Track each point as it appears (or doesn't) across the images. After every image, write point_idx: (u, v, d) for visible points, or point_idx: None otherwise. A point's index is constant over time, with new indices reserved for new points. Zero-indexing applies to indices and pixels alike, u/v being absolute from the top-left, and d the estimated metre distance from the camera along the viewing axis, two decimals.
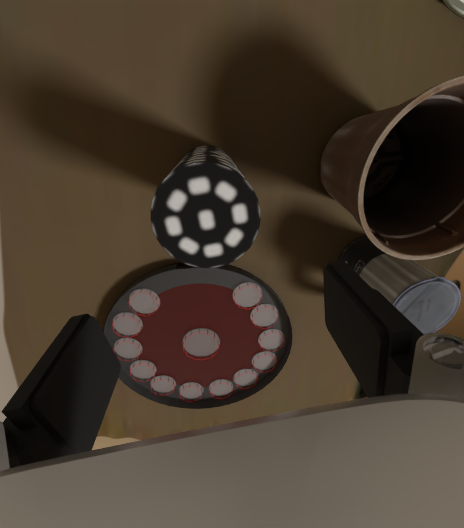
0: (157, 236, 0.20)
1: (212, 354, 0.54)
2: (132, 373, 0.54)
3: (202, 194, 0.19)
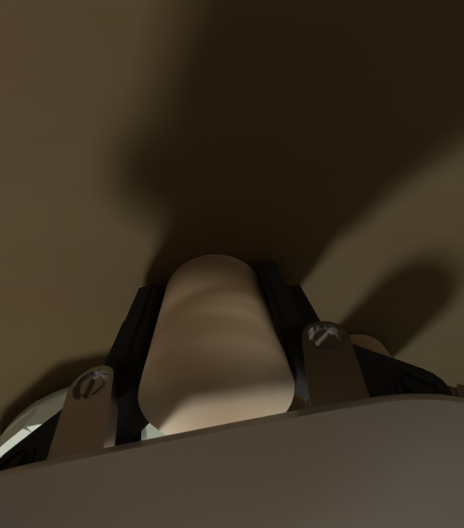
0: None
1: None
2: None
3: None
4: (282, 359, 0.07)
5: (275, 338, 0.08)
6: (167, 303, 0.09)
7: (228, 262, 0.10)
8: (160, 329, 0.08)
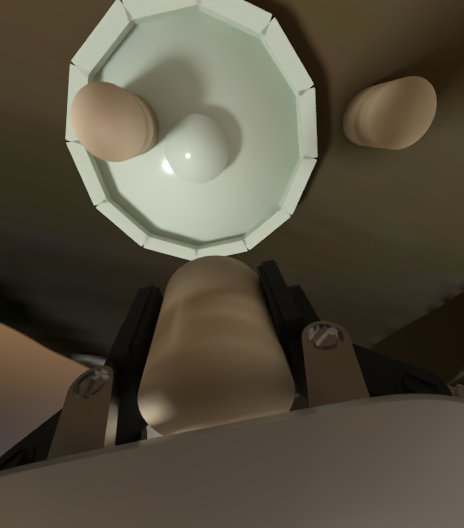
0: None
1: None
2: None
3: None
4: (282, 362, 0.07)
5: (275, 340, 0.08)
6: (167, 305, 0.09)
7: (228, 264, 0.10)
8: (160, 331, 0.08)
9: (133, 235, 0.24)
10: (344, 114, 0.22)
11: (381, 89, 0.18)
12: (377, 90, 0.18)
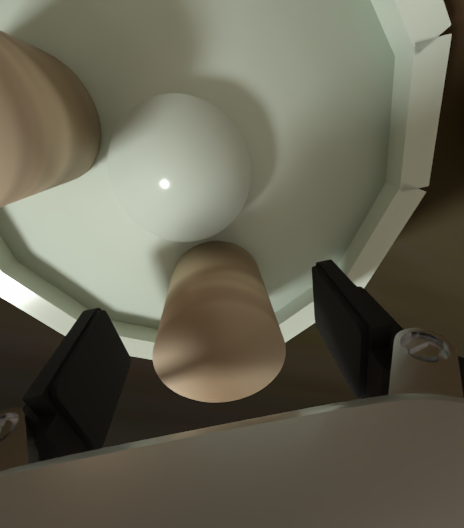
0: None
1: None
2: None
3: None
4: (274, 323, 0.08)
5: (269, 308, 0.09)
6: (175, 281, 0.10)
7: (229, 248, 0.12)
8: (170, 301, 0.09)
9: (65, 329, 0.13)
10: None
11: None
12: None
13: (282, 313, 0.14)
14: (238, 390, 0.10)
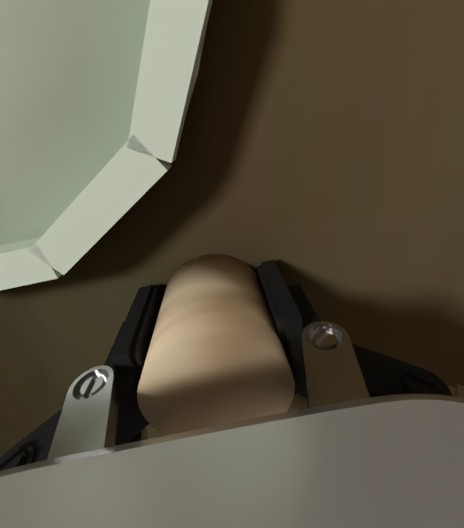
0: None
1: None
2: None
3: None
4: None
5: None
6: None
7: None
8: None
9: None
10: (166, 286, 0.11)
11: (181, 327, 0.07)
12: (182, 315, 0.08)
13: None
14: None
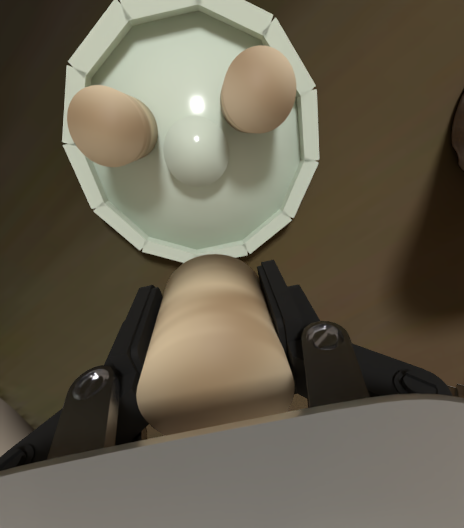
0: None
1: None
2: None
3: None
4: (118, 166, 0.17)
5: None
6: (148, 117, 0.18)
7: (150, 151, 0.21)
8: (144, 116, 0.17)
9: None
10: (166, 286, 0.11)
11: (180, 327, 0.07)
12: (181, 315, 0.08)
13: None
14: (75, 123, 0.16)
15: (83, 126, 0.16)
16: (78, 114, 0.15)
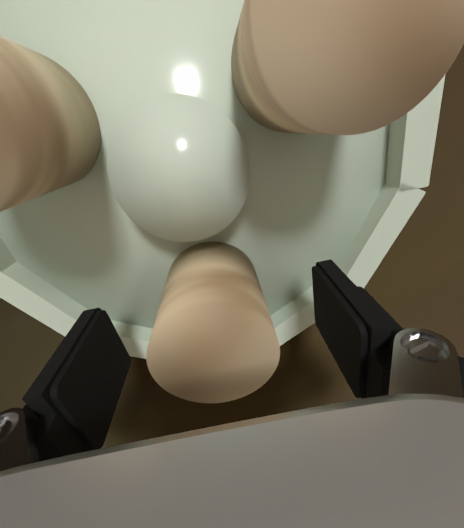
0: None
1: None
2: None
3: None
4: None
5: None
6: (58, 95, 0.07)
7: (84, 171, 0.10)
8: (29, 86, 0.06)
9: None
10: (169, 270, 0.12)
11: (183, 298, 0.08)
12: (184, 290, 0.09)
13: None
14: None
15: None
16: None
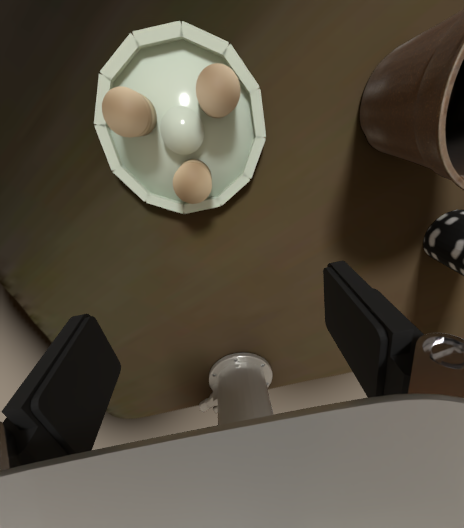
0: None
1: None
2: None
3: None
4: None
5: None
6: (150, 107, 0.28)
7: (151, 130, 0.31)
8: (148, 105, 0.27)
9: (144, 33, 0.27)
10: None
11: (183, 165, 0.29)
12: (183, 164, 0.30)
13: (110, 134, 0.31)
14: (106, 109, 0.26)
15: (111, 111, 0.26)
16: (108, 104, 0.26)
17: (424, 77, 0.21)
